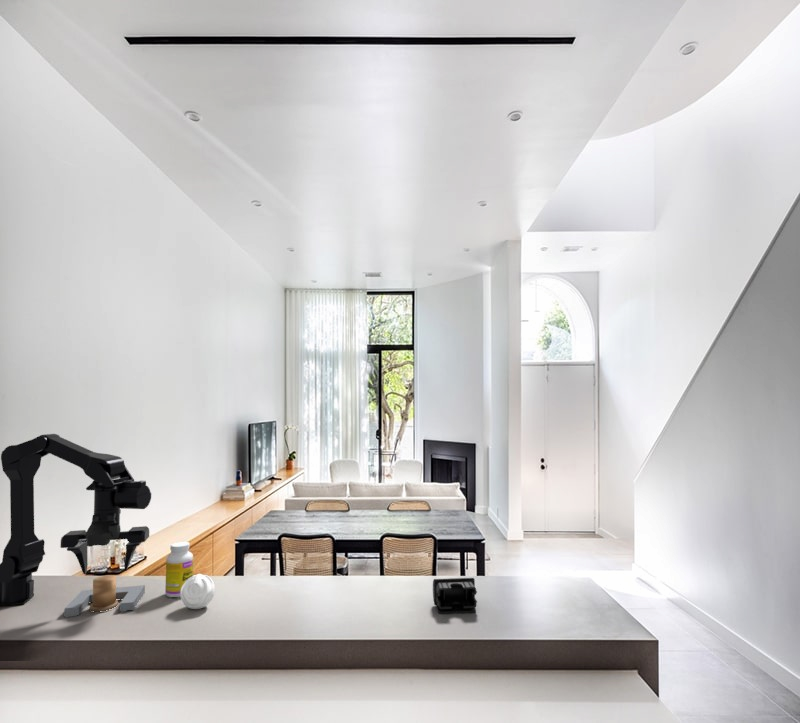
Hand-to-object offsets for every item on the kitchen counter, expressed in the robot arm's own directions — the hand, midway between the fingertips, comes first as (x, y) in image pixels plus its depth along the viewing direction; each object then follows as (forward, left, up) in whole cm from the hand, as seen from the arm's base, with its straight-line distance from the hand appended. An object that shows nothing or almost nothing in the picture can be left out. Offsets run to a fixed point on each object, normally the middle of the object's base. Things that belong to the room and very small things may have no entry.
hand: (105, 572), depth 133 cm
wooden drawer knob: (0, 0, -9) cm, 9 cm away
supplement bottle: (+16, +5, -9) cm, 19 cm away
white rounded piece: (+22, -6, -9) cm, 25 cm away
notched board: (0, +2, -8) cm, 9 cm away
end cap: (+83, -22, -9) cm, 87 cm away
